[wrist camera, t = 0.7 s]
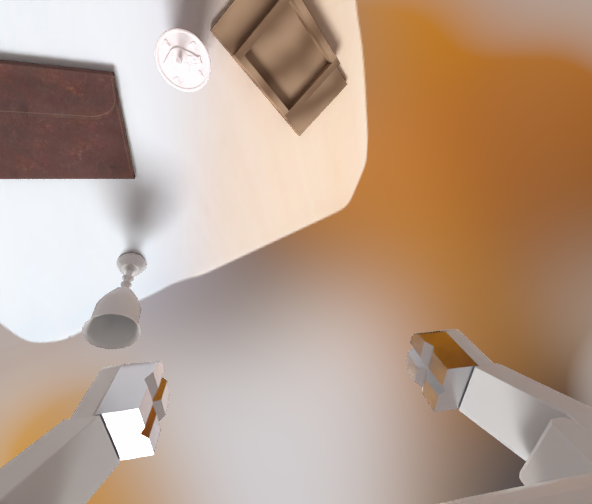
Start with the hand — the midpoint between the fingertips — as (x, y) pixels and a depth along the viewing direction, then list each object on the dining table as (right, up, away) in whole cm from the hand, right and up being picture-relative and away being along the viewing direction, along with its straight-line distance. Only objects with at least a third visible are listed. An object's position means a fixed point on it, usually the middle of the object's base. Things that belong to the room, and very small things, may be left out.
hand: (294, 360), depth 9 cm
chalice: (-32, +1, +45) cm, 55 cm away
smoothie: (-17, +32, +32) cm, 48 cm away
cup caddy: (-2, +35, +36) cm, 50 cm away
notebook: (-36, +22, +31) cm, 52 cm away
